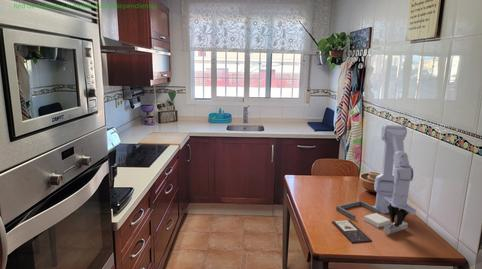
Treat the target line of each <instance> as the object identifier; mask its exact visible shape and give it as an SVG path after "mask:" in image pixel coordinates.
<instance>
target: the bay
mask: <svg viewBox="0 0 482 269" xmlns="http://www.w3.org/2000/svg"><path fill="white" fill-rule="evenodd" d="M357 206H358V207H359V206H361V207H364V208H365V209H367V210H369V211H371V212H374V213H377V214H379V213H380V212H379V209H377V208H375V207H373V206H374V205H370V204H368V203H366V202H364V201H362V200H358V201H353V202H349V203H344V204H340V205H336V206H335V207H336V208H335V210H336V211H338V212H339V213H341V214H343V215H344V216H347V217H348V218H350V219H352V220H354V221H355V220H356V215H355V214H353V213H352V212H350V211H348V210H346V209H349V208H354V207H357Z"/></svg>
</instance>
